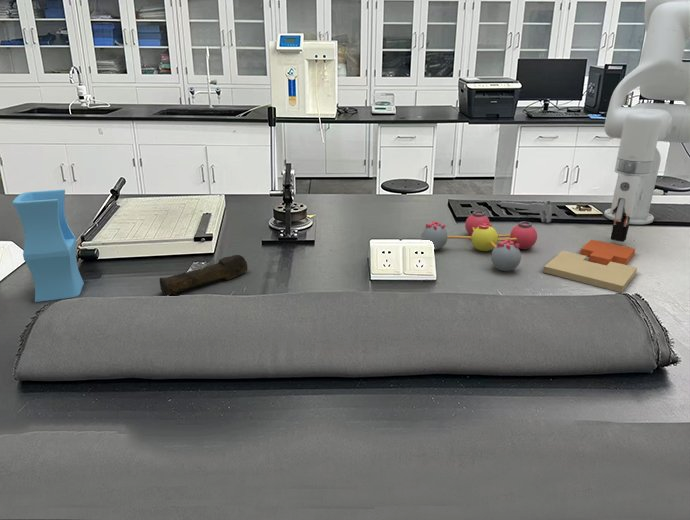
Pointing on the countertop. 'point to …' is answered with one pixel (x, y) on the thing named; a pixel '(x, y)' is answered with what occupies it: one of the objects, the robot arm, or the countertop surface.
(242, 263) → the hand tool
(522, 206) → the caliper
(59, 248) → the vase
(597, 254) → the tab pad
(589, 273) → the notch pad
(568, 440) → the countertop surface
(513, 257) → the molecule model
